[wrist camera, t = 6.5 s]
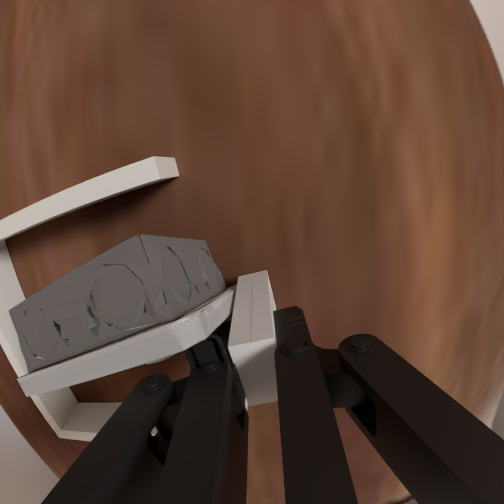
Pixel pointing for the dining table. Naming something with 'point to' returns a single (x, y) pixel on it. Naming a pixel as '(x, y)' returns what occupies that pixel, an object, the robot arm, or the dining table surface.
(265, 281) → the robot arm
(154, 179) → the u-shaped bracket
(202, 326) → the electrical switch
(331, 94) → the dining table surface
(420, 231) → the dining table surface
